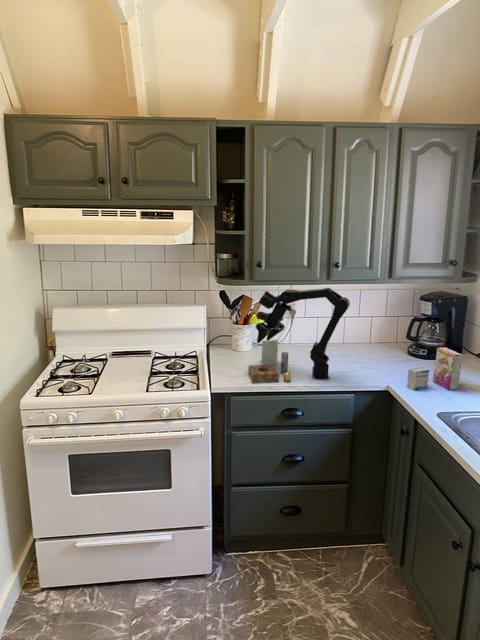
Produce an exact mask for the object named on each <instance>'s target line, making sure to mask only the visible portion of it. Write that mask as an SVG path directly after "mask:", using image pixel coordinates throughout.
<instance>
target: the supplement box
mask: <svg viewBox="0 0 480 640" xmlns="http://www.w3.org/2000/svg"><path fill="white" fill-rule="evenodd" d="M266 339H267V336H266V337H265V338H264V339H263V340H262V341H261V342H262V343H261V361H260V363H261V364H260V365H274V366H275V367H276V365H277V362H278V353H279V351H278V350H279V349H278V348H279V347H278V346H279V337H273V338H271V339H270V340H269V341H267V340H266Z"/></svg>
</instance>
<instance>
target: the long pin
mask: <svg viewBox="0 0 480 640" xmlns="http://www.w3.org/2000/svg"><path fill="white" fill-rule="evenodd" d="M280 360H281V361H280V374H281V375H284V372H289V371H288V369H289V367H288V366H289V352H287V351H286V352H285V351H282V352H281V358H280Z"/></svg>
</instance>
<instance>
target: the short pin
mask: <svg viewBox="0 0 480 640" xmlns="http://www.w3.org/2000/svg"><path fill="white" fill-rule="evenodd" d="M291 378H292V372H291V371H288V372H284V374H283V382H284V383H291V382H292V381H291Z"/></svg>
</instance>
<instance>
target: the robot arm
mask: <svg viewBox="0 0 480 640" xmlns="http://www.w3.org/2000/svg"><path fill="white" fill-rule="evenodd" d="M323 298H325V299H326V300H328V301H329V303H331V305H332V306H334V307H333V310H332V315H331V318H330V319H329V322H328V324H327V326H326V328H325V330H324V332H323V334H322V336H321V338H320V340H319V342H317V341H315V342H314V344H313V346H312V348H311V350H310V352H309V355H310V356H309V358H310V359H311V361H312V362H313V366H312V369H311V370H312V372H311V375H312V376H313V378H314V379H315V380H324V379H325V380H326V379H327V380H329V379H330V377H329V369H330V368H329V366H330V364H328V362H329V360H330V357H329V356H328V355H327V354H326V352H327V347H328V343H329V341H330V339H331V338H332V336H333V334H334V332H335V330H336V328H337V325H338V323H339V321H340V320H341V318H342V317H343V316H344V314H345V313H346V312H347V310H348V309H349V307H350V305H351V302H350V300H349V298H347V297H344V296H342V295H340V293H338V292H336V291H334V290H333V289H332V288H330V287H325V288H324V287H323V288H317V289H307V290H299V289H298V290H297V289H286V290H284V291H282V292H281V293H280V294H279V295H277V296H275V295H274V294H272V293H270V291H267V290H266V291H265V292H264V293H263V294H262V296H261V297H260V298H259V300H258V304H259V305H261V306H263V307H264V308H266V309H268V310H270V309H272V310H271V312H264V311H258V312H257V313H256V314H255V316H256V319H257V320H261V321H263V322H259V323H256V325H255V329H256V330H257V340H256V343H257V344H260V343H261V342H262V341H263V339H264V338H265V337H267V339H266V340H267V341H269V340H270V339H271V338H275V336H277V335H278V334H280V333H282V331H284V329H285V328H286V327H285V324H284V323H282V321H284V316H285V314H286V313H287V311H288V312H291V311H292V310H293V308H292V305H291V303H295V302H297V301H301V300H310V299H311V300H312V299H323Z"/></svg>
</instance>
